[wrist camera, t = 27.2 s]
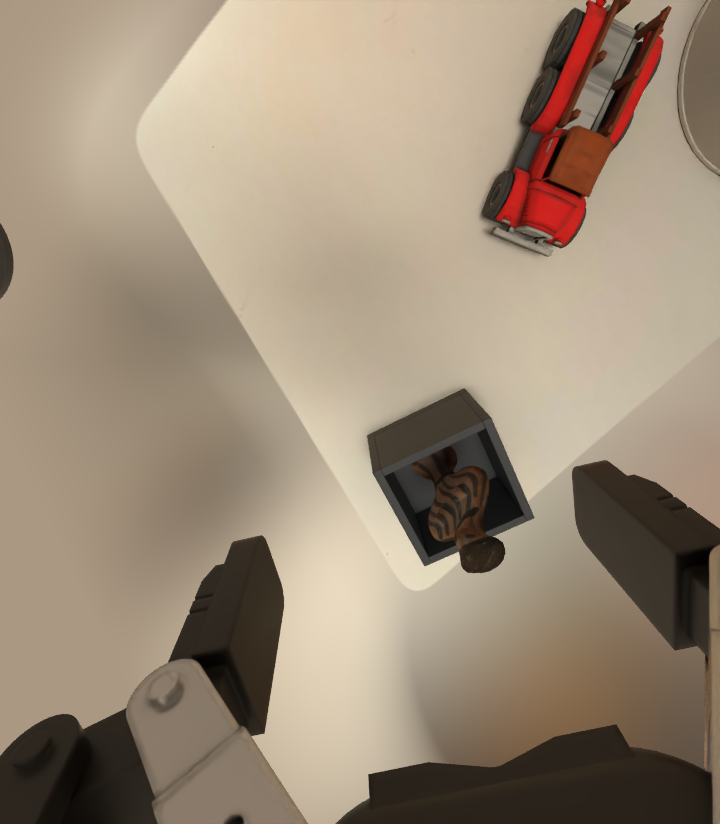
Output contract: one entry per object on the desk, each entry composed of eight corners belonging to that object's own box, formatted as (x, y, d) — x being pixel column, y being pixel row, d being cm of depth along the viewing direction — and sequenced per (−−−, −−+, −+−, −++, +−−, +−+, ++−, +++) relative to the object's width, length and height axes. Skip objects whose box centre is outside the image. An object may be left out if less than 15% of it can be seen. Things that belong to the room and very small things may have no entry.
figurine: (439, 419, 48) (493, 506, 31) (475, 442, 50) (547, 540, 33) (399, 472, 50) (429, 582, 33) (435, 493, 51) (482, 611, 34)
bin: (411, 516, 53) (424, 566, 45) (366, 435, 50) (372, 473, 41) (502, 474, 52) (534, 518, 44) (464, 388, 48) (491, 417, 40)
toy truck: (473, 230, 43) (502, 225, 36) (563, 11, 38) (620, -50, 30) (546, 260, 44) (590, 261, 37) (643, 52, 39) (718, 3, 31)
